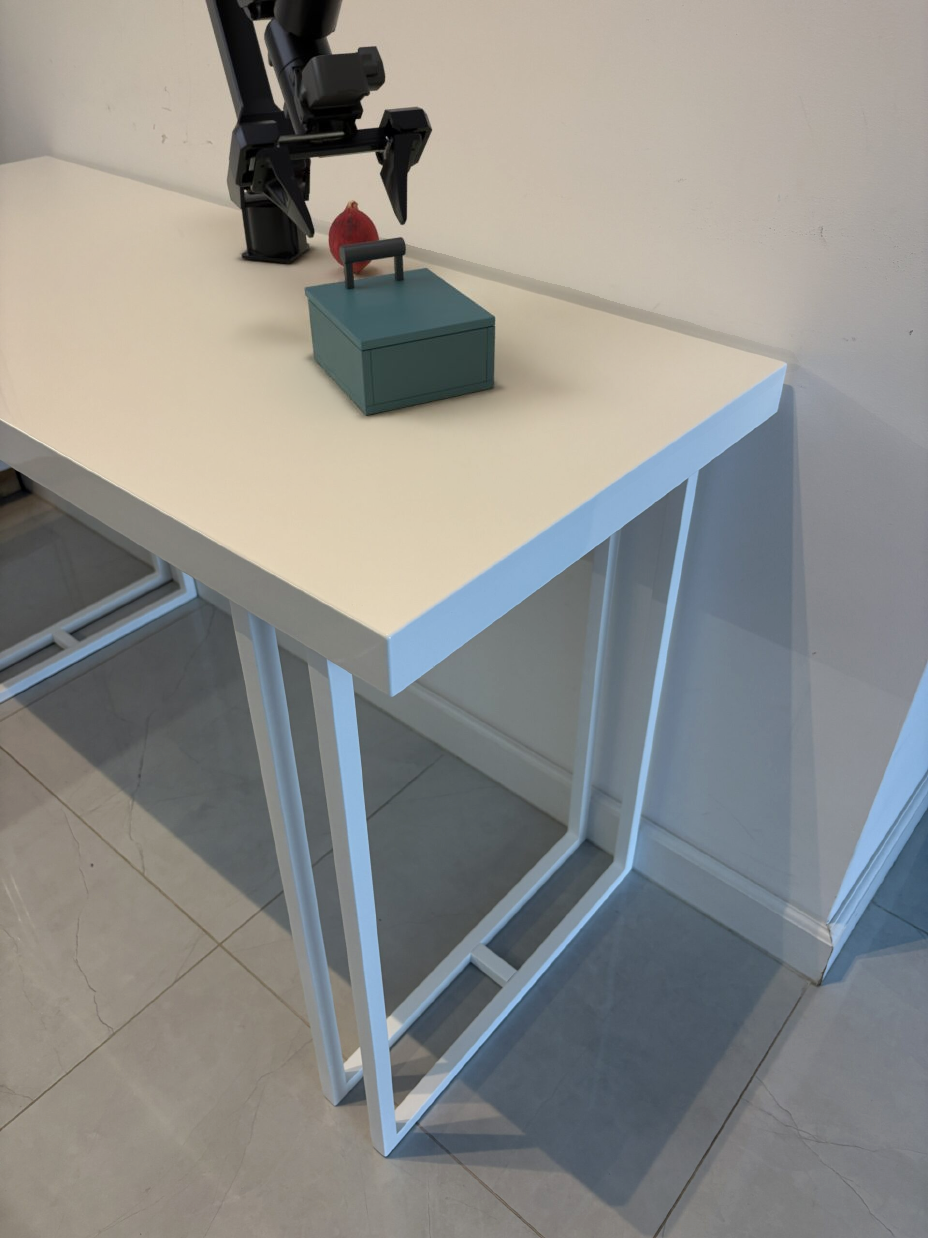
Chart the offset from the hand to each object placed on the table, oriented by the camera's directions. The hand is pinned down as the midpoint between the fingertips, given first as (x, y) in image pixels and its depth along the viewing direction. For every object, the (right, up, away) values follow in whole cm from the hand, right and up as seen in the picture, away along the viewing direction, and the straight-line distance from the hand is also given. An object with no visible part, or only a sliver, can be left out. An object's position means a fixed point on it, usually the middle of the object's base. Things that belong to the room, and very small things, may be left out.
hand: (359, 228), depth 87 cm
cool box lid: (+4, -9, -3) cm, 10 cm away
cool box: (+4, -13, +1) cm, 14 cm away
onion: (-3, +4, +22) cm, 23 cm away
